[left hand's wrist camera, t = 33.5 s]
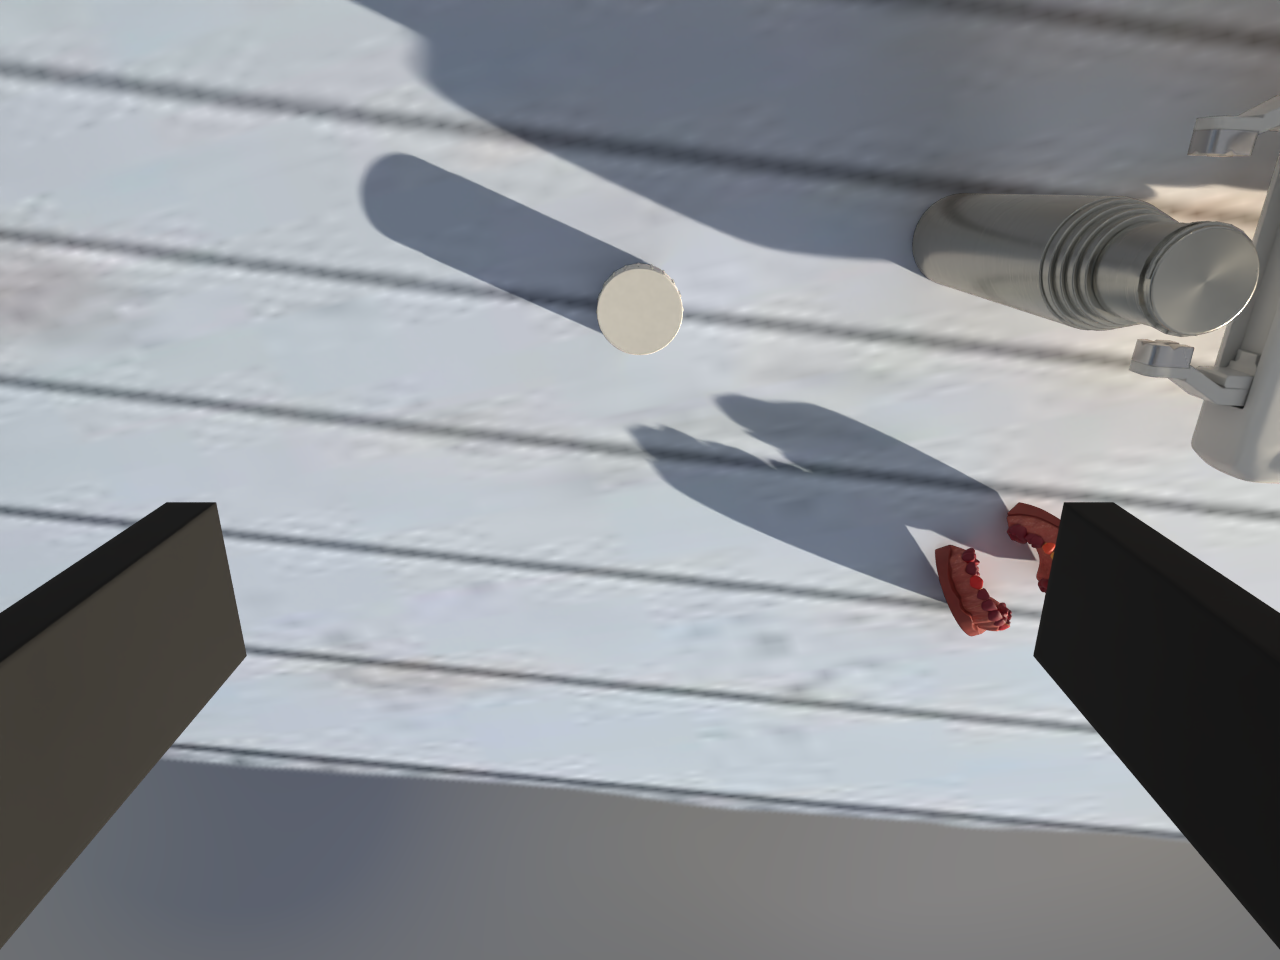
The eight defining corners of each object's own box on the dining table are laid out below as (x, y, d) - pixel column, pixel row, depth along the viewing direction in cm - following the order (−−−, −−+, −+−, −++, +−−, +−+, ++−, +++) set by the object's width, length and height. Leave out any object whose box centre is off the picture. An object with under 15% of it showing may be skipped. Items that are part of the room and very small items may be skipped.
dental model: (1117, 594, 43) (983, 664, 45) (1079, 561, 47) (957, 627, 49) (1074, 514, 42) (937, 589, 44) (1038, 487, 46) (914, 557, 48)
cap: (603, 257, 41) (601, 261, 39) (686, 268, 42) (689, 273, 39) (594, 341, 43) (591, 350, 41) (674, 351, 43) (676, 360, 41)
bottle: (1014, 202, 41) (1316, 214, 22) (984, 293, 42) (1244, 372, 24) (927, 185, 40) (1163, 183, 22) (900, 276, 42) (1100, 345, 24)
